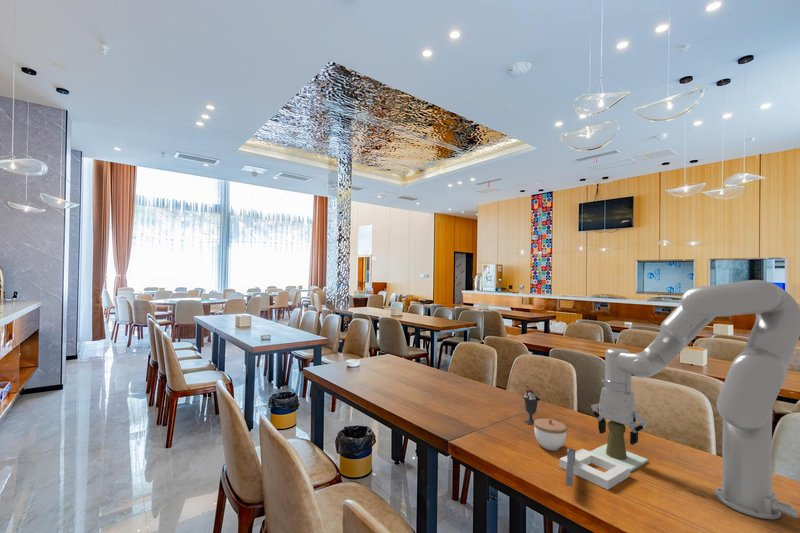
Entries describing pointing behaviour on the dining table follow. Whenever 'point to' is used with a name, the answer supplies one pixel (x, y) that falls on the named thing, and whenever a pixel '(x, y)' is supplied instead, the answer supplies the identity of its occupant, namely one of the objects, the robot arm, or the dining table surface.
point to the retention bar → (570, 466)
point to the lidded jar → (550, 433)
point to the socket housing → (593, 475)
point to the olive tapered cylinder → (616, 441)
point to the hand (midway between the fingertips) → (617, 438)
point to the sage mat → (631, 461)
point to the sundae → (530, 404)
